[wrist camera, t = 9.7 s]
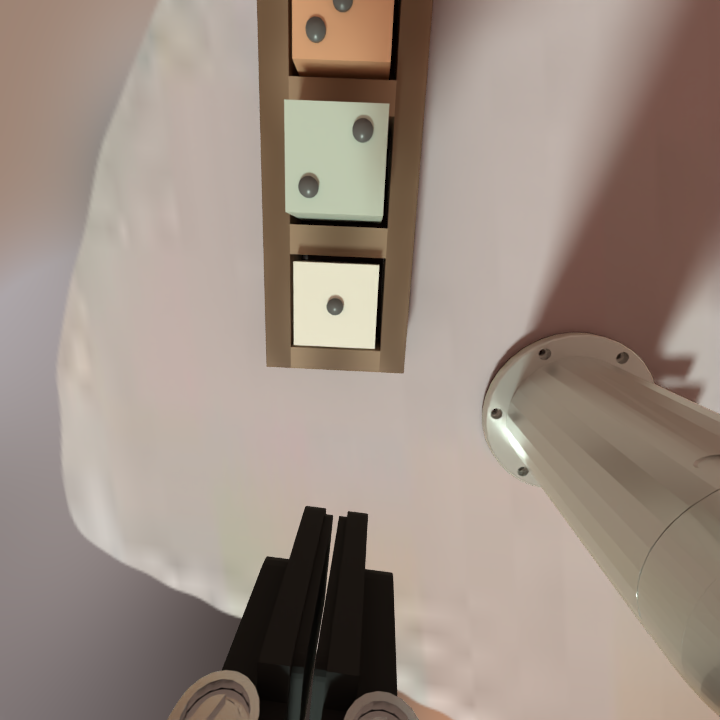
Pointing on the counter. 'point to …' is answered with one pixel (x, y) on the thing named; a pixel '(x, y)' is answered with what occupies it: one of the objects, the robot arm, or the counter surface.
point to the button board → (293, 239)
